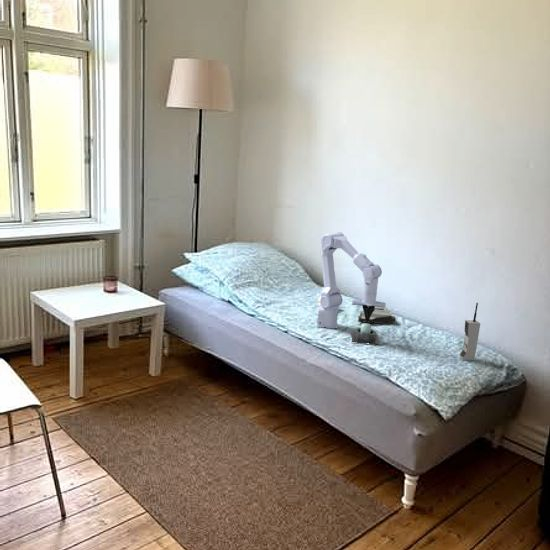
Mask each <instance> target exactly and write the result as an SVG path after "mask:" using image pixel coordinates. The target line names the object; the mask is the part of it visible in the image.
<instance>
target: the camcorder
mask: <svg viewBox="0 0 550 550" xmlns="http://www.w3.org/2000/svg"><path fill="white" fill-rule="evenodd" d="M357 318H358V319H357V323H361V322H362V323H366V322H365V314H364V311H363V310H361V311H360V314H359V315H358V317H357ZM396 319H397V318H396V316H395V315H392V313H391V311H390V310H388V308H386V307H385V308H383V307H375V310H374V311H373V313H372V315H371V317H370V319H369V322H368V323H372V322H374V323H376V324H385V325H386V324H387V325H390V324H391V323H395V322H396ZM374 323H373V324H374Z"/></svg>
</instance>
